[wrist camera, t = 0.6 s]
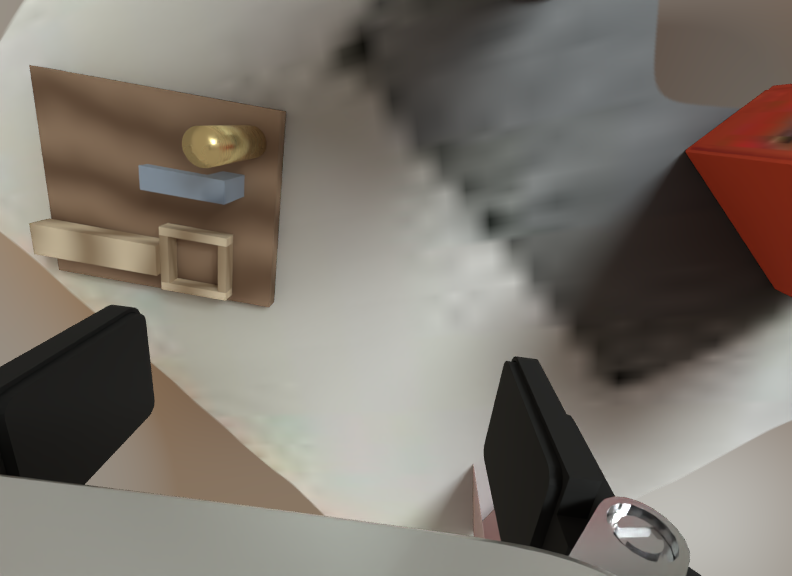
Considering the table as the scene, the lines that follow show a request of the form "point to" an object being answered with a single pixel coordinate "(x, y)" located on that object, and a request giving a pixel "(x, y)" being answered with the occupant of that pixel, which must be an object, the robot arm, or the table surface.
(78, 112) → the base plate
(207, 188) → the bracket
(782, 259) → the file binder
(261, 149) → the pin
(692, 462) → the table surface
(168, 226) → the link
